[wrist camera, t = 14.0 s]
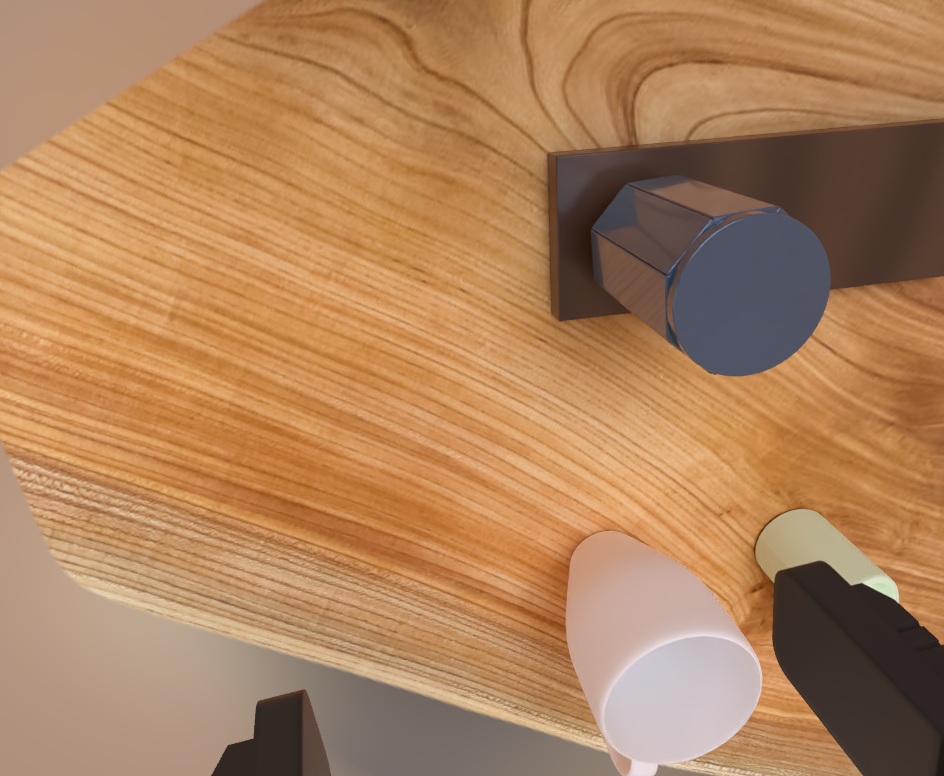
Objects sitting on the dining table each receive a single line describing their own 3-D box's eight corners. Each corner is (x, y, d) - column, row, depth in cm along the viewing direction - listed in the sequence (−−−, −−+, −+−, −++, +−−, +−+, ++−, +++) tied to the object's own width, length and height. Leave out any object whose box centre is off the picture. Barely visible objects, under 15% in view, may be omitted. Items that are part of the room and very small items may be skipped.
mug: (548, 499, 44) (617, 633, 34) (681, 501, 46) (786, 629, 35) (519, 664, 48) (571, 827, 38) (641, 660, 50) (723, 815, 40)
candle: (816, 493, 47) (907, 574, 40) (836, 551, 49) (926, 637, 42) (744, 532, 48) (822, 618, 40) (766, 587, 50) (844, 679, 42)
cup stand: (551, 313, 40) (636, 407, 29) (547, 152, 36) (642, 190, 26) (934, 268, 43) (1142, 338, 32) (961, 116, 39) (1204, 136, 29)
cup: (565, 260, 35) (639, 320, 27) (651, 149, 34) (755, 177, 26) (657, 330, 37) (750, 405, 29) (740, 229, 36) (863, 278, 28)
